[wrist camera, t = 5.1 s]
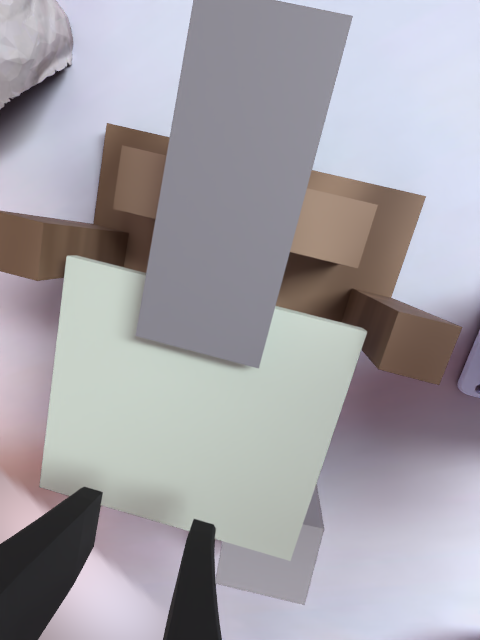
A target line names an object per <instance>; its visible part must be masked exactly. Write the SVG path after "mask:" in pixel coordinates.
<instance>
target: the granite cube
mask: <svg viewBox="0 0 480 640" xmlns="http://www.w3.org/2000/svg"><path fill="white" fill-rule="evenodd" d="M323 532H324V525H323V519H322V513H321V507H320V501H319V496H318V490H317V484H316V486H315V489H314V492H313V495H312V498H311V501H310V504H309V507H308V510H307V513H306V516H305V519H304V522H303V525H302V528H301V531H300V534H299V537H298V540H297V543H296V546H295V549H294V552H293V555H292V558H291V561H288V560H285V559H281V558H278V557H274V556H271V555H268V554H264V553H261V552H258V551H254V550H251V549H247V548H244V547H241V546H237V545H234V544H230V543H227V542H224V541H222V547H221V552H220V558H219V563H218V569H217V574H216V580H215V583H216V584H219V585H223V586H227V587H232V588H236V589H240V590H244V591H248V592H252V593H257V594H261V595H265V596H269V597H273V598H277V599H282V600H286V601H290V602H294V603H298V604H302V605H305V601H306V597H307V593H308V589H309V586H310V582H311V578H312V574H313V570H314V566H315V563H316V559H317V555H318V551H319V547H320V543H321V540H322V536H323Z"/></svg>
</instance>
